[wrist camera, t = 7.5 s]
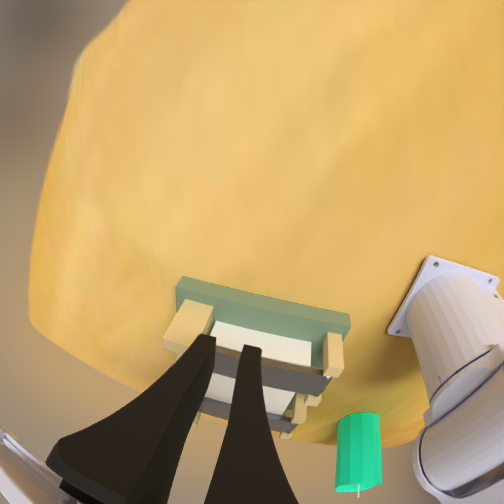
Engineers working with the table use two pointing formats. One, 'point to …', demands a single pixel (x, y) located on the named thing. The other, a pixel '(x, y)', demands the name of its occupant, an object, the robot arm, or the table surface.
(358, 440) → the candle
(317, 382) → the strap near
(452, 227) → the table surface
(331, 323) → the board
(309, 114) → the table surface
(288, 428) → the strap far
